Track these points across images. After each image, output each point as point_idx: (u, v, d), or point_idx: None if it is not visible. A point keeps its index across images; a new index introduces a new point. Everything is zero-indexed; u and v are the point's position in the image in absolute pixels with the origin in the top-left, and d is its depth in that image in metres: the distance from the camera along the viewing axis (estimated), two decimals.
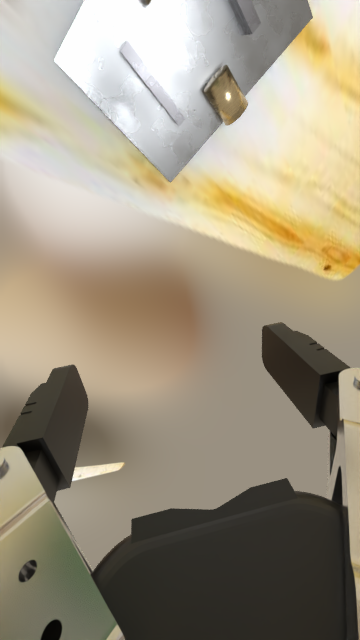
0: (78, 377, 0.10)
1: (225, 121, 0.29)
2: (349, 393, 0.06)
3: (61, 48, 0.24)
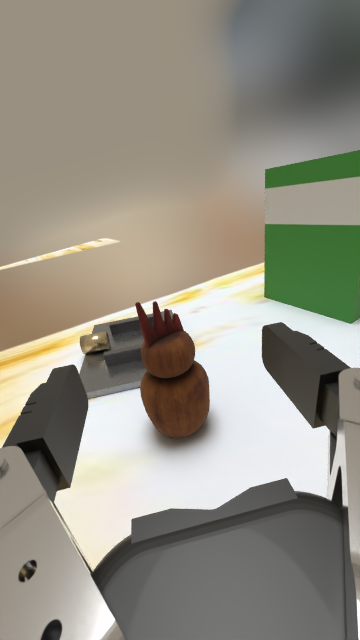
0: (78, 377, 0.10)
1: None
2: (349, 393, 0.06)
3: (171, 312, 0.52)
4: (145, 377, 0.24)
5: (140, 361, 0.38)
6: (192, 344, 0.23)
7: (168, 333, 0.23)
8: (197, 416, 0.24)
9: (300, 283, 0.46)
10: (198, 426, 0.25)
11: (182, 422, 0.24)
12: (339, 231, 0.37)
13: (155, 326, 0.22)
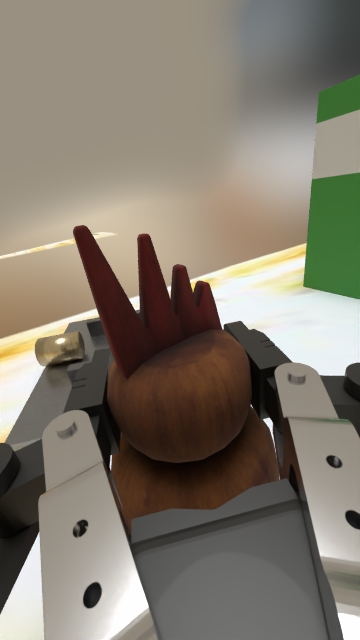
0: None
1: None
2: (286, 388, 0.07)
3: None
4: (122, 446, 0.10)
5: None
6: (248, 366, 0.08)
7: (183, 335, 0.08)
8: None
9: None
10: None
11: None
12: None
13: (147, 316, 0.07)
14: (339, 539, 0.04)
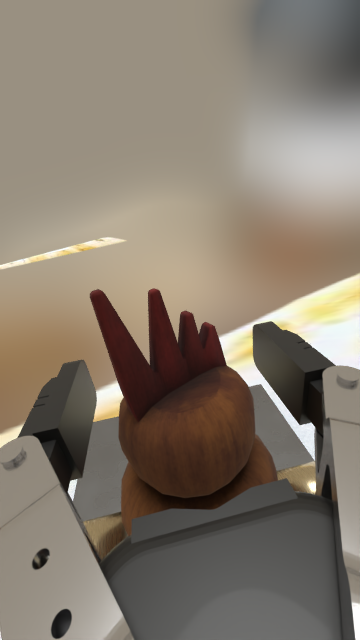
0: (87, 372, 0.10)
1: None
2: (333, 391, 0.07)
3: (265, 393, 0.23)
4: (131, 475, 0.10)
5: None
6: (252, 403, 0.09)
7: (190, 376, 0.08)
8: None
9: None
10: None
11: None
12: None
13: (156, 362, 0.08)
14: None
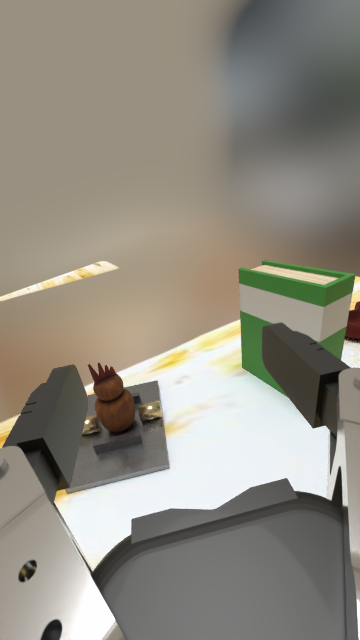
0: (78, 377, 0.10)
1: None
2: (349, 393, 0.06)
3: (157, 383, 0.57)
4: (97, 399, 0.45)
5: (125, 449, 0.43)
6: (120, 382, 0.44)
7: (107, 377, 0.43)
8: (124, 420, 0.45)
9: None
10: (127, 426, 0.46)
11: (116, 423, 0.44)
12: None
13: (99, 374, 0.42)
14: None
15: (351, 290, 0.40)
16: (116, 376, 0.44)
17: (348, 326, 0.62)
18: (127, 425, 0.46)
